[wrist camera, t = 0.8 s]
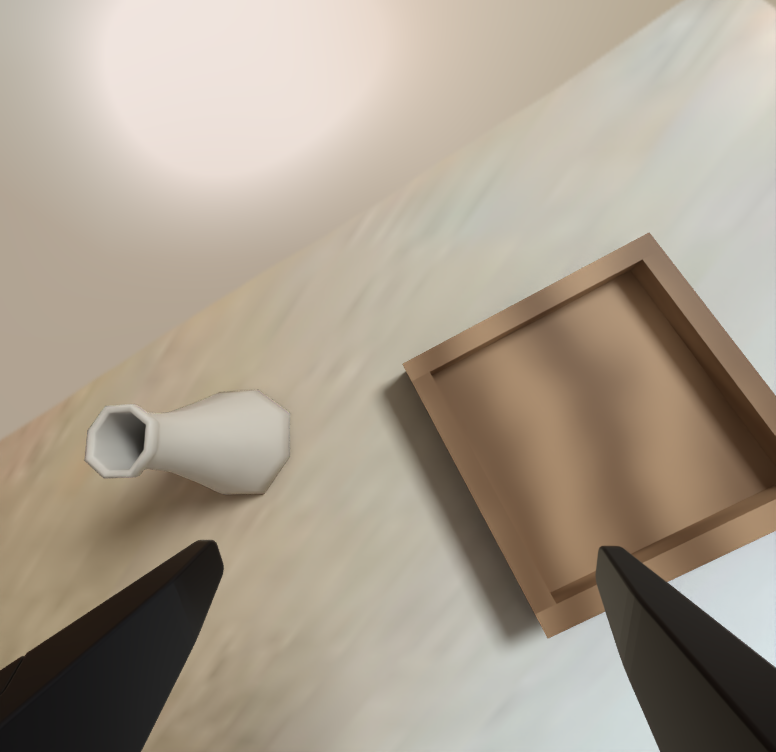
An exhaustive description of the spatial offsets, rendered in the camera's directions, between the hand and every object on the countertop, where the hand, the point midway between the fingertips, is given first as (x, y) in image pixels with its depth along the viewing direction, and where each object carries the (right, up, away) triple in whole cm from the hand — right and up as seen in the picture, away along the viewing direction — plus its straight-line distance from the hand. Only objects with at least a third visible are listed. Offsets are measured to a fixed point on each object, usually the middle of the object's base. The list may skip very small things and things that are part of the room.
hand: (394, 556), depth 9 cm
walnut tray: (+12, +1, +13) cm, 18 cm away
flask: (-10, 0, +17) cm, 20 cm away
